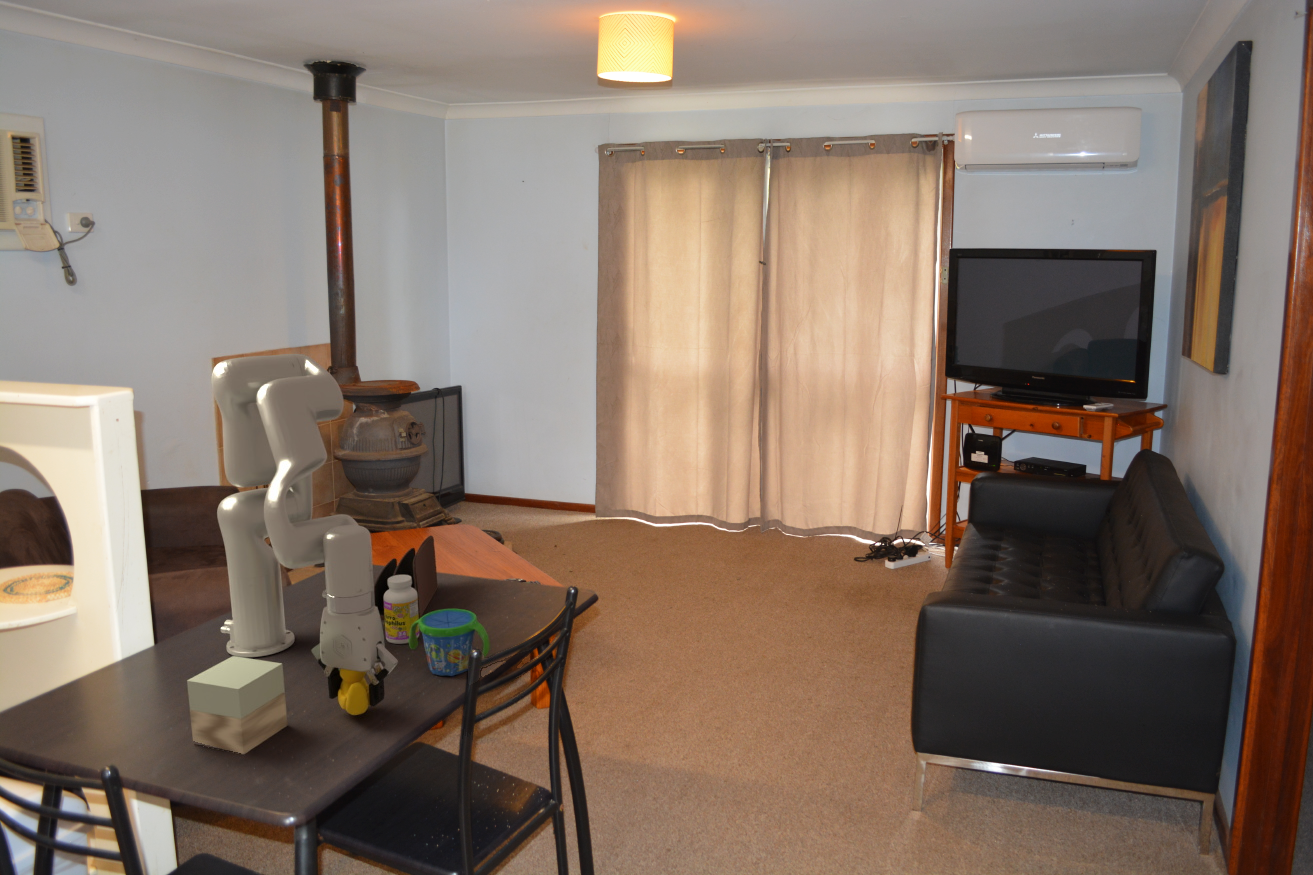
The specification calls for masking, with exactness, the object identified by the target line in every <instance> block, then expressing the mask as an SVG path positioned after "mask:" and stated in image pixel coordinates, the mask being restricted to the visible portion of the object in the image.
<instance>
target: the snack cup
mask: <svg viewBox="0 0 1313 875" xmlns="http://www.w3.org/2000/svg"><path fill="white" fill-rule="evenodd" d="M477 618H478V617H477V615H476V614H475V613H474V612H472V611H470V610H467V609H463V608H443V609H436V610H434V611H430V612H428V613H426V614H424V615H422V616H421V618H420V619H418V620H417V621H416V622H414V623H413V625H412V626H411V629H410V633H409V643H408V645H409V648H410V650H415V649H417V647H418V645H419V640H418V638H417V636H416V633H415V632H416V627H417V624H419V632H420V633H422V634H421V635H422V639H423V645H424V650H425V654H426V660H427V664H428V668H429V671H430V672H431V673H432V674H433V675H438V676H448V677H449V676H450V677H454V676H455V675H460V674H462V673H464V672H467V671H468V670H467V666H468V658H469V655H470V653H471V652H472V653H473V646H474V645H473V644H474V636H475V632H477V634H478V637H480V639H481V640H482V652H483V655H484V657H485V658H486V656H487V655H488V653H489V651H490V645H491V644H490V639H489V636H488V633H487V631H486V628H485V626H483V625H482V623H480V622H479V621H478V619H477Z"/></svg>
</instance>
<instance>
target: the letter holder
mask: <svg viewBox="0 0 1313 875" xmlns="http://www.w3.org/2000/svg"><path fill="white" fill-rule="evenodd" d="M436 560H437V559H436V549H435V540H434V535H428V536H427V537H426V538H425V539H424V540H423V542H422V543H421V544H420V546H419V547H418V549H417V551H416V549H415V547H411V548H410V549H408V550H407V552H405V553H404V555H403V556H402V558H401V559H400V561H399V562H398V560H397V558H394V557H393V558H392V559H390V560H389V561H388V562H387V564H385V565H384V567H383V568H382V569H381V571H380V572H379V574H378V576H377V577H376V580H375V582H374V600H375V606H376V607H378V611H379V614H380V618H381V621H382V620H383V621H385V615H384V594H385V592H386V591H387V590H389V586H388V578H390V577H392V576H395V575H409V576H411V578H412V584H411V587H412V588H414V589H415V590H416V591H417V596H418V617H419V619H420V618H421V617H422V616H423V614H424V612H425V610H426V608H427V607H428V605H429V603H430V602H431V600H432V598H433V597H434V595H435V594H436V591H437V590H438V588H439V585H438V575H437V572H438V571H437V561H436Z"/></svg>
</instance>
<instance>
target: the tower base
mask: <svg viewBox="0 0 1313 875" xmlns="http://www.w3.org/2000/svg"><path fill="white" fill-rule="evenodd" d="M189 716H190V724H191V726H190V727H191V734H192V742H193V741H195V742H198V743H202V744H205V745H210V746H213V747H218V748H222V749H225V750H230V751H233V752H232V753H234V752H238V753H237V754H239V753H241V754H240V755H245V754H247V753H248V752H250V751H251V750H253V749H254V748H255V747H257V746H259V745H260V744H262V743H263V742H265V741H266V740H268V739H269V738H271V737H272V736H274V735H275V734H277V733H278V732H280V731H281V730H282V729H283V730H284V728H286V727H287V726H288V716H287V706H286V694H285V692H284V693H282V694H281V695H279V696H277V697H276V698H274V699H273V700H271V701H269V702H268V703H266V704H265V705H263V706H261V707H260V708H258V709H257V710H255V711H253V712H252V713H250V714H249V715H247V716H245V717H244V718H242V719H238V718H232V717H226V716H221V715H215V714H209V713H204V712H198V711H193V710H190V709H189Z"/></svg>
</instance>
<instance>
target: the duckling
mask: <svg viewBox="0 0 1313 875" xmlns="http://www.w3.org/2000/svg"><path fill="white" fill-rule="evenodd" d="M339 673H340V676H341V677H342V679H343V680H342V682H341V687H340V689H339V691H338V696H337V702H338V703H339V706H340V708H341V709H342V710H345V711H346V712H347V713H348V714H350V715H352V716H357V715H358V716H359V715H362V714H364V713H365V712H366V711H367V710H368V708H369V706H370V702H369V684H368V683H367V680H366V677H365V676H366V675H367V673H366V672H359V671H352V670H347V669H341V668H339Z"/></svg>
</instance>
